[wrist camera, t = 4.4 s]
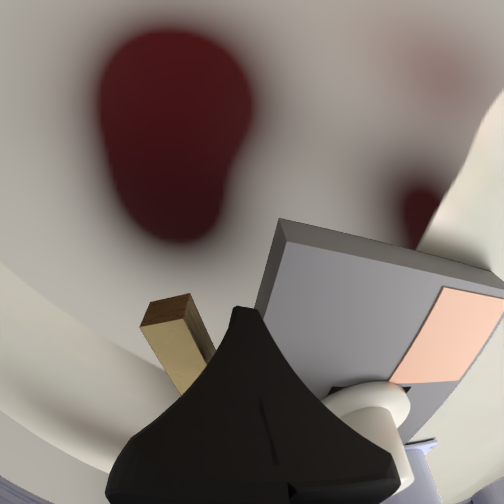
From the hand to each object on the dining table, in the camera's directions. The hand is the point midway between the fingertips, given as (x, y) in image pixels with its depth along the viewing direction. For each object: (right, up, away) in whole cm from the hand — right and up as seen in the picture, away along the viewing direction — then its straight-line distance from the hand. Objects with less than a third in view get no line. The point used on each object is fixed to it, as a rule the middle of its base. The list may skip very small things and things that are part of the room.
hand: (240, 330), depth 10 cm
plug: (+6, -6, +6) cm, 11 cm away
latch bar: (0, -6, +3) cm, 7 cm away
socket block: (+6, -6, +7) cm, 11 cm away
